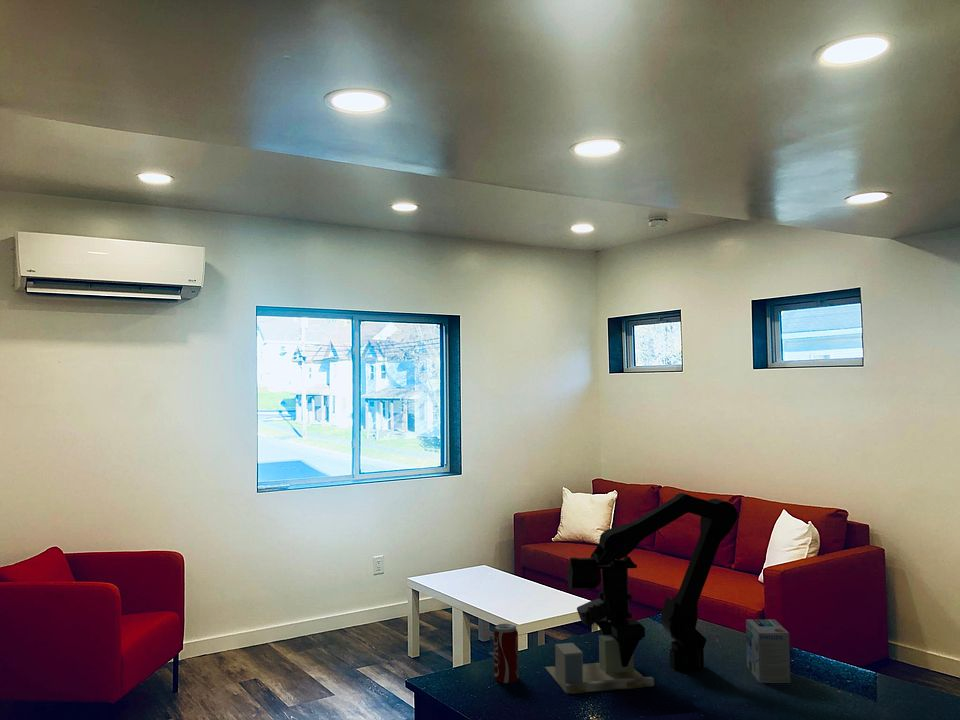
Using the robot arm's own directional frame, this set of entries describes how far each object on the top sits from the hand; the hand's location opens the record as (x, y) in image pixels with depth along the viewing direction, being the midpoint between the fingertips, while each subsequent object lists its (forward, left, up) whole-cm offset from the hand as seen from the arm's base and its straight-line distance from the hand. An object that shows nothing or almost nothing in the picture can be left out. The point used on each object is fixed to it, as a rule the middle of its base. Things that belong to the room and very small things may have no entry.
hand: (616, 659), depth 169 cm
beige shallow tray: (+6, +3, -3) cm, 7 cm away
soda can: (+25, 0, -3) cm, 25 cm away
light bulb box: (-32, +8, -3) cm, 33 cm away
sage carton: (0, 0, -2) cm, 2 cm away
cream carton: (+13, +5, -2) cm, 14 cm away
